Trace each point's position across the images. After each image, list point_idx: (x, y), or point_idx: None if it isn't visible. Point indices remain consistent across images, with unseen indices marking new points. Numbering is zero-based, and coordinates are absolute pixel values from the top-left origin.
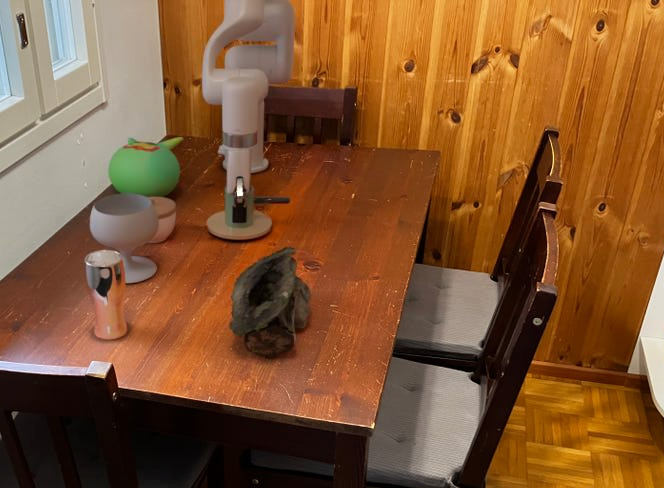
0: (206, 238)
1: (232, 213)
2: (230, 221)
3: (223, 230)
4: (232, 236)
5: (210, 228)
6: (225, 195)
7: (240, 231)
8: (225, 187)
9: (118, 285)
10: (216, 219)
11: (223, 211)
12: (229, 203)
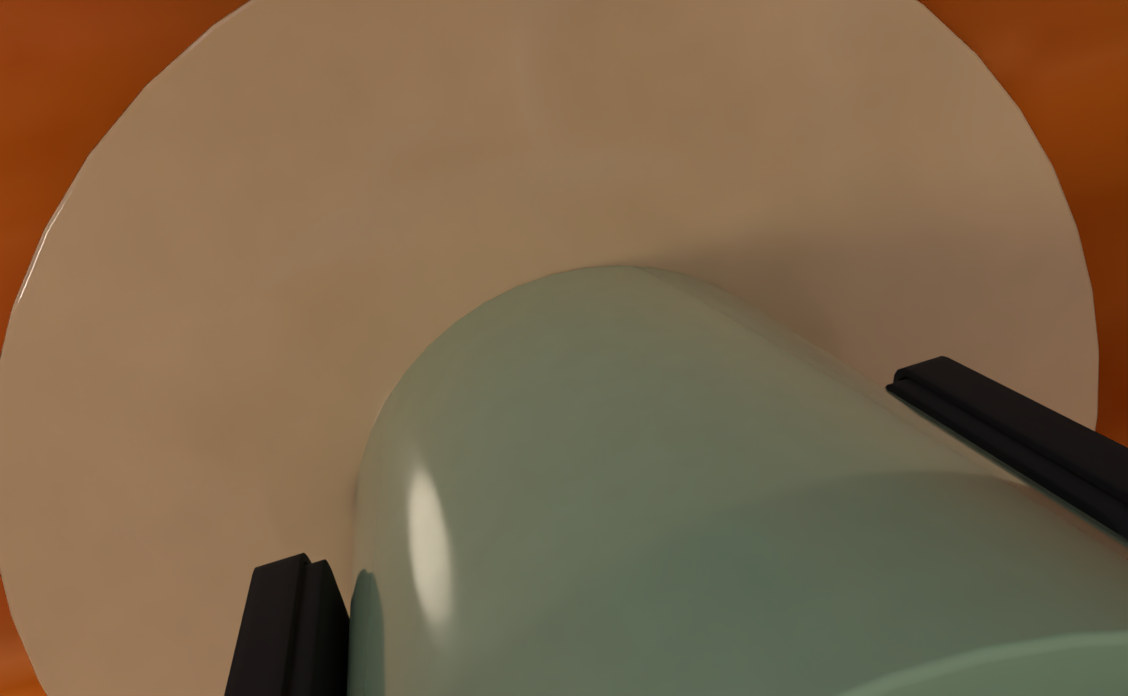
0: (108, 17)
1: (228, 689)
2: (373, 472)
3: (169, 357)
4: (4, 568)
5: (175, 75)
6: (601, 639)
7: (230, 641)
8: (1105, 633)
9: None
10: (634, 83)
11: (1000, 119)
12: (393, 694)
